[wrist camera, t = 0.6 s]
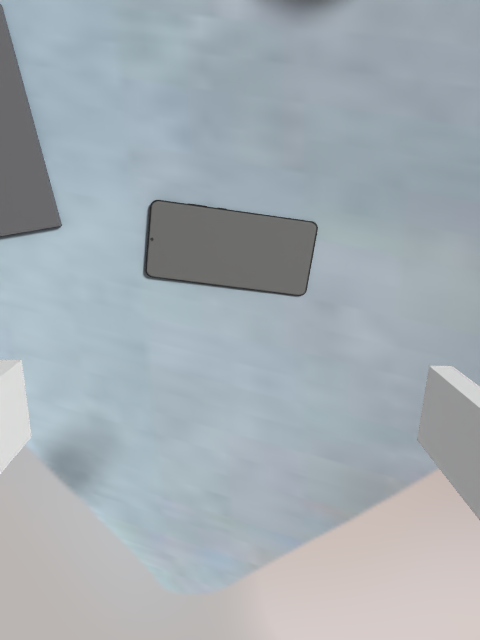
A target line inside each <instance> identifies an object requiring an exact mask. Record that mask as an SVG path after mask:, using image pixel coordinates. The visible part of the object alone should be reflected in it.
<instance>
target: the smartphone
mask: <svg viewBox="0 0 480 640" xmlns="http://www.w3.org/2000/svg"><path fill="white" fill-rule="evenodd" d="M317 229H318V227H317V225H316V223H314V222H312V221H305V220H298V219H291V218H284V217H276V216H269V215H262V214H255V213H248V212H241V211H234V210H227V209H223V208H212V207H207V206H202V205H195V204H184V203H176V202H169V201H162V200H155V201H153V202H152V203H151V206H150V219H149V232H148V245H147V258H146V273H147V275H148V276H150V277H156V278H164V279H172V280H180V281H188V282H196V283H204V284H211V285H219V286H227V287H235V288H243V289H251V290H259V291H267V292H274V293H282V294H290V295H298V296H301V295H304V294H305V293H306V290H307V285H308V280H309V274H310V268H311V263H312V257H313V252H314V246H315V241H316V235H317Z"/></svg>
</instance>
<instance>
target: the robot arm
mask: <svg viewBox="0 0 480 640" xmlns="http://www.w3.org/2000/svg"><path fill="white" fill-rule="evenodd" d="M31 437H32V436H31V428H30V421H29V413H28V405H27V398H26V390H25V382H24V374H23V367H22V360H0V474H1V473H2V471H3V470H4V469H5V468H6V467H7V466H8V464H9V463H10V462H11V461H12V459H13V458H14V457H15V456H16V455H17V454H18V452H19V451H20V450H21V449H22V448H23V446H24V445H25V444H26V443H27V442H28V440H29V439H30V438H31ZM417 441H418V442H419V443H420V444H421V446H422V447H423V448H424V450H425V451H426V452H427V453H428V455H429V456H430V457H431V459H432V460H433V461H434V462H435V464H436V465H437V466H438V468H439V469H440V470H441V471H442V473H443V474H444V475H445V476H446V478H447V479H448V480H449V482H450V483H451V484H452V485H453V487H454V488H455V489H456V491H457V492H458V493H459V494H460V496H461V497H462V498H463V500H464V501H465V502H466V503H467V505H468V506H469V507H470V509H471V510H472V511H473V512H474V513H475V515H476V516H477V517H478V519H479V520H480V387H479V386H478V385H477V384H475V383H474V382H473V381H471V380H470V379H469V378H467V377H466V376H465V375H463V374H462V373H461V372H459V371H458V370H457V369H455V368H454V367H453V366H429V370H428V376H427V382H426V388H425V395H424V401H423V407H422V413H421V419H420V425H419V432H418V438H417Z"/></svg>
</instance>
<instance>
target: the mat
mask: <svg viewBox="0 0 480 640" xmlns="http://www.w3.org/2000/svg"><path fill="white" fill-rule="evenodd" d="M57 226H62V224H61V221H60V217H59V213H58V210H57V206H56V202H55V199H54V195H53V191H52V187H51V184H50V180H49V176H48V173H47V169H46V165H45V162H44V158H43V154H42V151H41V147H40V143H39V140H38V136H37V132H36V129H35V125H34V121H33V118H32V114H31V110H30V107H29V103H28V99H27V96H26V92H25V88H24V85H23V81H22V77H21V74H20V70H19V66H18V63H17V59H16V55H15V52H14V48H13V44H12V41H11V37H10V33H9V30H8V26H7V22H6V19H5V15H4V11H3V7H2V5H1V4H0V236H5V235H11V234H16V233H22V232H28V231H34V230H40V229H46V228H52V227H57Z"/></svg>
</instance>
